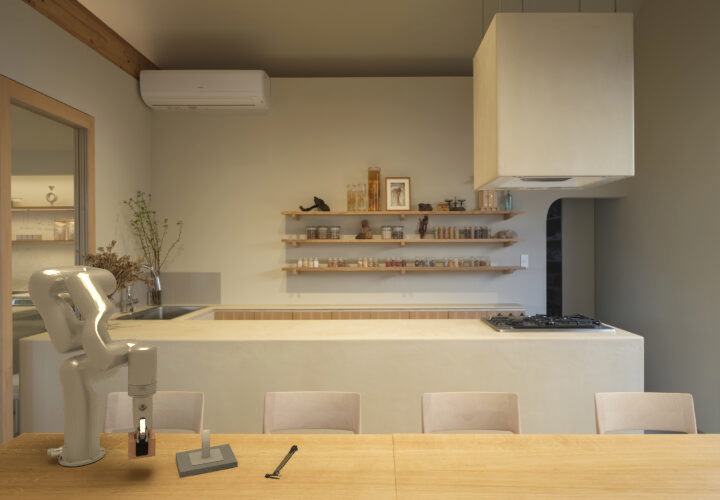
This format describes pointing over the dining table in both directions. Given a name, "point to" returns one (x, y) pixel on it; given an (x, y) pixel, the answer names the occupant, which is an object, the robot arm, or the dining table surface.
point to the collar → (132, 445)
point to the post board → (205, 458)
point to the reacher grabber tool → (282, 463)
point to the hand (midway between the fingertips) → (141, 449)
